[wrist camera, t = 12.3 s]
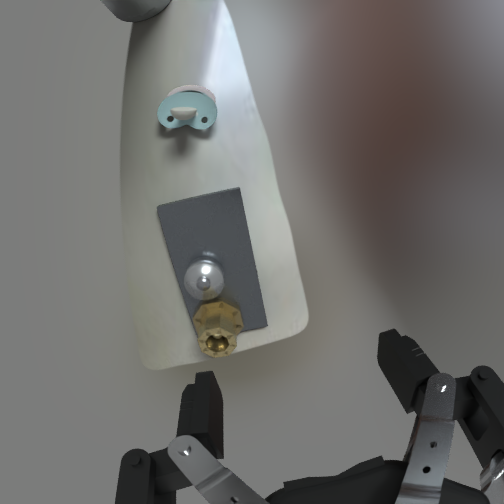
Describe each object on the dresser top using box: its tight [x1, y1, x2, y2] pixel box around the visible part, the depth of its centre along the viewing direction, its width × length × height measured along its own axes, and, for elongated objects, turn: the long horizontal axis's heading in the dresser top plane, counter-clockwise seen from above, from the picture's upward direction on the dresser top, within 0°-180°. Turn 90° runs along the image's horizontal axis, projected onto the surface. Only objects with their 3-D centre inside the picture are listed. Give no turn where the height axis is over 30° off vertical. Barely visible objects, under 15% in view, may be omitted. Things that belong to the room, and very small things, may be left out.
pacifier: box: [157, 85, 217, 129], centre depth 30 cm, size 7×6×6 cm
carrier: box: [157, 187, 268, 339], centre depth 39 cm, size 21×11×5 cm, turn 11°
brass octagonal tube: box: [192, 297, 244, 358], centre depth 40 cm, size 7×7×6 cm
